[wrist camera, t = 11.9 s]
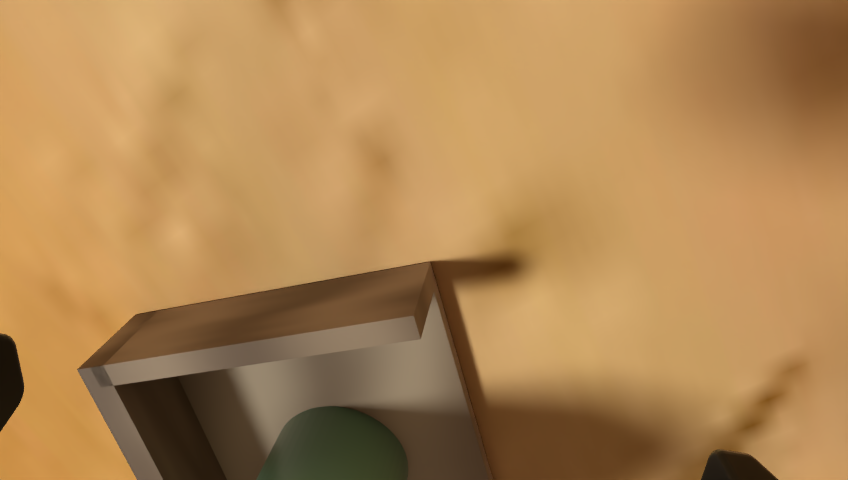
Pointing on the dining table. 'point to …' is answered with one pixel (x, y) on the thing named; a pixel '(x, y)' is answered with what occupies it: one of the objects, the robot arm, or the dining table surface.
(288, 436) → the bottle
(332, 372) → the u rest
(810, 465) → the dining table surface
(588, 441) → the dining table surface
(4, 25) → the dining table surface
